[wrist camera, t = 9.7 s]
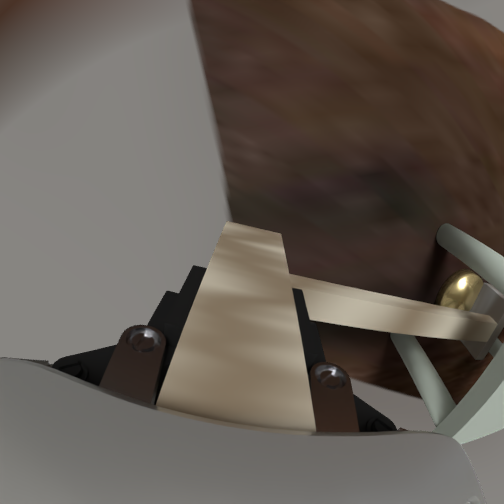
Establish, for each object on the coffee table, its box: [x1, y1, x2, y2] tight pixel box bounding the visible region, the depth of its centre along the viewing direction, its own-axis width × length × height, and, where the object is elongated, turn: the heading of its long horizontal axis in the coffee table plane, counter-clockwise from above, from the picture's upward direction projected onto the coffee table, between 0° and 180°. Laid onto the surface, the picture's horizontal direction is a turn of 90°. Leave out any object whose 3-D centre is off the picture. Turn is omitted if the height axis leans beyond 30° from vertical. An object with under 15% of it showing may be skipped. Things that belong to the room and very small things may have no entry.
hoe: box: [156, 221, 504, 432], centre depth 10 cm, size 21×5×14 cm, turn 77°
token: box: [435, 269, 483, 311], centre depth 19 cm, size 5×5×2 cm
